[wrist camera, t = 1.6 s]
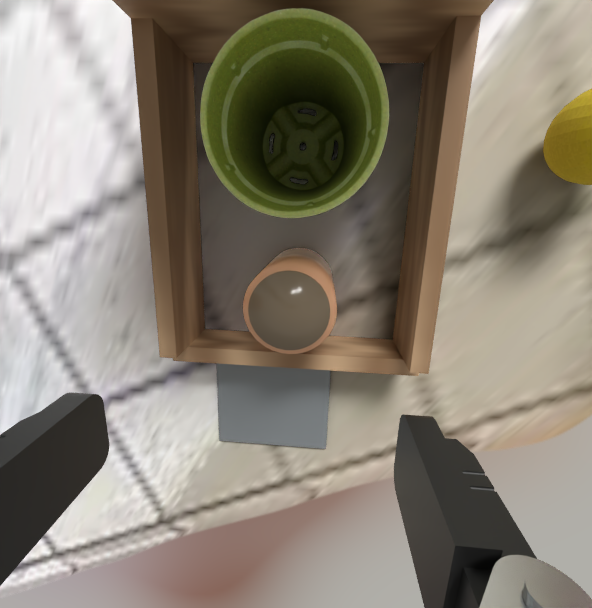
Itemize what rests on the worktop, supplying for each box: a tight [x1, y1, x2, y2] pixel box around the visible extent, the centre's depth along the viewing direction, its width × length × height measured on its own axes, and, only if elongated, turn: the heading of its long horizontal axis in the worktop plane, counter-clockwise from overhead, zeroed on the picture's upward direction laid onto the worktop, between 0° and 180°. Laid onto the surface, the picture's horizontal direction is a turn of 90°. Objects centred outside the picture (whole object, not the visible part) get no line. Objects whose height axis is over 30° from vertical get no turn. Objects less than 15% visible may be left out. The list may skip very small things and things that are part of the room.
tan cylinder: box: [243, 248, 337, 354], centre depth 24 cm, size 6×6×8 cm
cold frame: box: [113, 0, 493, 376], centre depth 23 cm, size 18×22×8 cm
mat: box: [217, 363, 331, 449], centre depth 31 cm, size 10×8×1 cm
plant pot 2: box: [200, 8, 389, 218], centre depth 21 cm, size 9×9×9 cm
